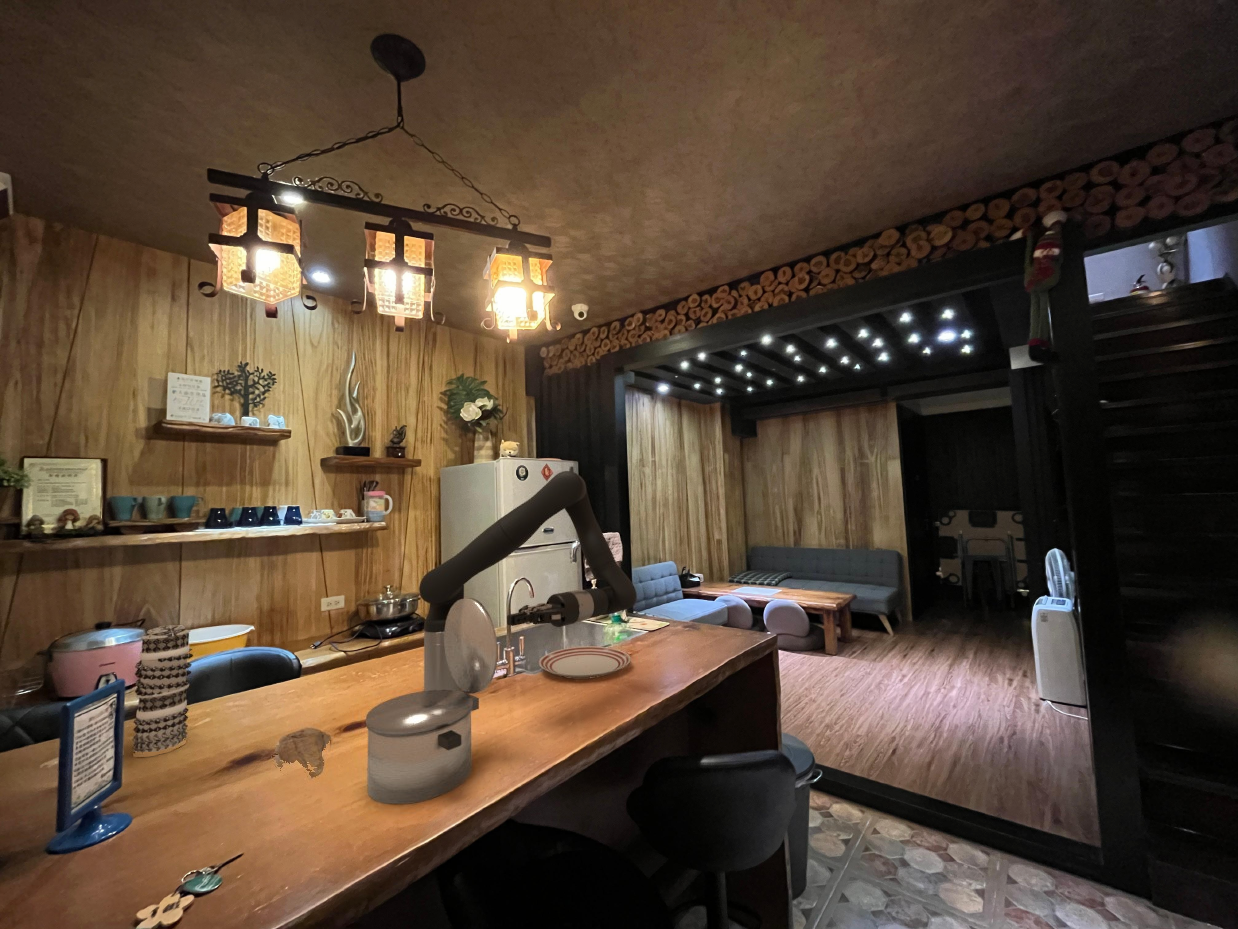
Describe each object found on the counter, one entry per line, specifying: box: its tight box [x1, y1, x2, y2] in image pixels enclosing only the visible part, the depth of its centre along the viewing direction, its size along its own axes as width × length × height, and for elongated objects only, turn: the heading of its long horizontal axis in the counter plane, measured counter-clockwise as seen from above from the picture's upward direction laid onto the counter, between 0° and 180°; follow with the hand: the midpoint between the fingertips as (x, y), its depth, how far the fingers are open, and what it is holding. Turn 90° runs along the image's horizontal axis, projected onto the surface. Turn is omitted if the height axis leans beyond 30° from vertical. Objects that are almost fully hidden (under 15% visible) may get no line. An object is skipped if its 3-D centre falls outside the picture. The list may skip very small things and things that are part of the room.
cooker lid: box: [444, 597, 499, 695], centre depth 101 cm, size 18×18×5 cm
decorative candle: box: [131, 624, 194, 753], centre depth 107 cm, size 9×9×25 cm
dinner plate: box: [538, 645, 632, 679], centre depth 150 cm, size 27×27×3 cm
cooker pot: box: [365, 690, 480, 805], centre depth 91 cm, size 22×19×12 cm
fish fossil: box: [273, 727, 331, 779], centre depth 100 cm, size 26×10×1 cm, turn 40°
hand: (509, 620), depth 107 cm, fingers closed
